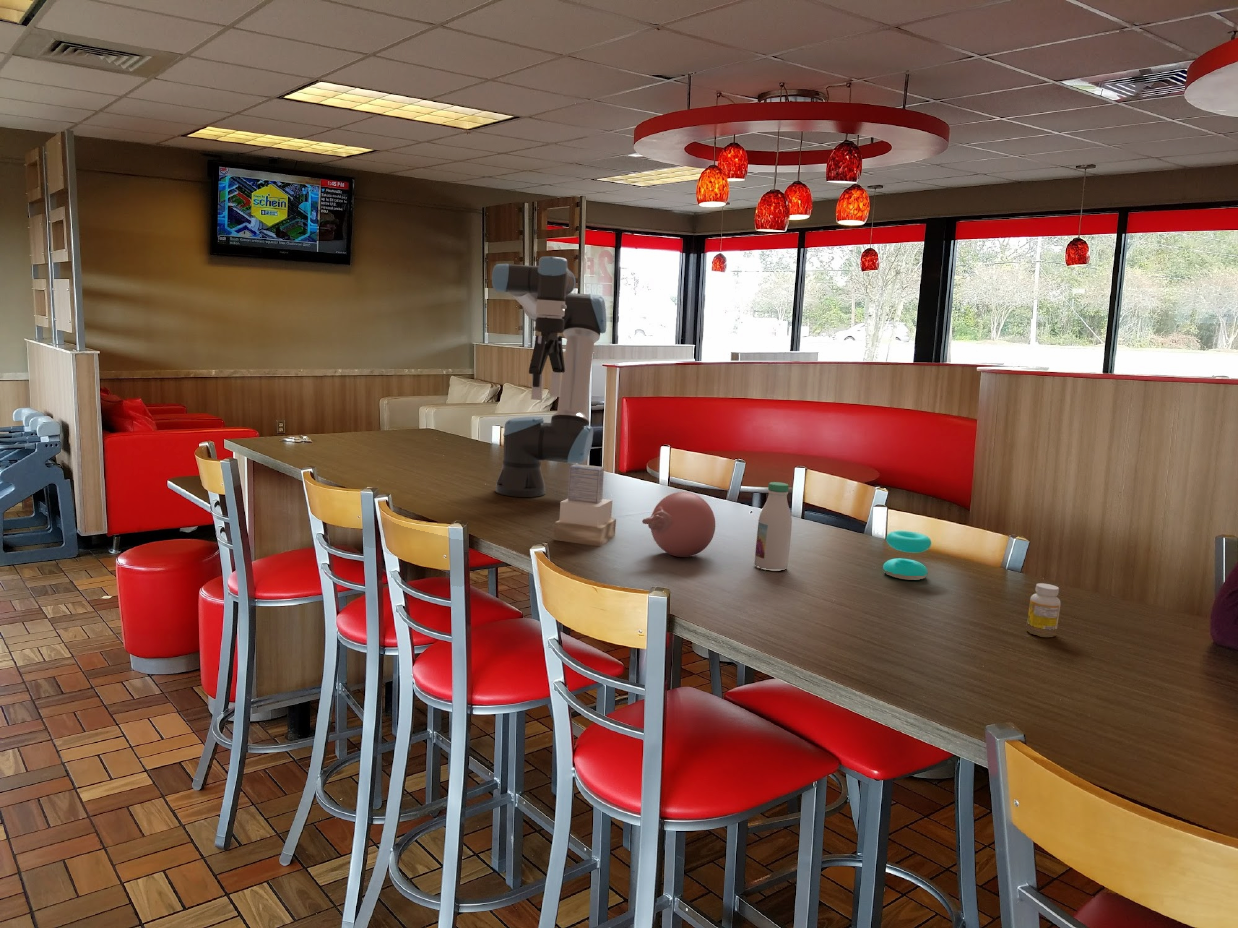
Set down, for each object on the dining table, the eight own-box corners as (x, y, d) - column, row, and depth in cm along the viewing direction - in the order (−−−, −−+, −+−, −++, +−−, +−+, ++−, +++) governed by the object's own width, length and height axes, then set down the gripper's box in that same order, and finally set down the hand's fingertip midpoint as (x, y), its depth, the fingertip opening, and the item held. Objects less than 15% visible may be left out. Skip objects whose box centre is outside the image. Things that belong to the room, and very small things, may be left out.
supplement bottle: (1051, 640, 175) (1058, 592, 173) (1022, 633, 178) (1028, 585, 177) (1059, 634, 179) (1066, 586, 177) (1030, 627, 182) (1037, 580, 181)
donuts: (909, 528, 220) (941, 538, 211) (904, 569, 221) (936, 580, 213) (877, 530, 215) (909, 540, 206) (873, 571, 217) (904, 583, 208)
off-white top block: (574, 514, 237) (575, 495, 236) (611, 519, 234) (612, 500, 233) (559, 521, 228) (560, 501, 227) (597, 527, 224) (598, 506, 224)
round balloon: (619, 552, 219) (624, 489, 217) (685, 545, 230) (690, 485, 228) (658, 569, 207) (663, 502, 204) (726, 560, 218) (731, 497, 215)
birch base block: (570, 532, 239) (571, 513, 238) (614, 538, 235) (616, 519, 234) (553, 541, 227) (555, 522, 227) (599, 548, 224) (601, 528, 223)
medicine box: (602, 500, 231) (604, 466, 230) (597, 504, 227) (600, 469, 226) (572, 497, 233) (574, 463, 232) (567, 500, 229) (569, 466, 228)
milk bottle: (790, 566, 217) (798, 483, 213) (784, 574, 209) (793, 488, 206) (757, 561, 219) (765, 479, 216) (751, 569, 212) (759, 483, 209)
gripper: (546, 317, 228) (542, 402, 232) (579, 319, 252) (574, 396, 255) (518, 315, 230) (514, 399, 234) (553, 317, 254) (549, 393, 257)
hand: (545, 398), depth 245 cm, fingers open, 13 cm apart
